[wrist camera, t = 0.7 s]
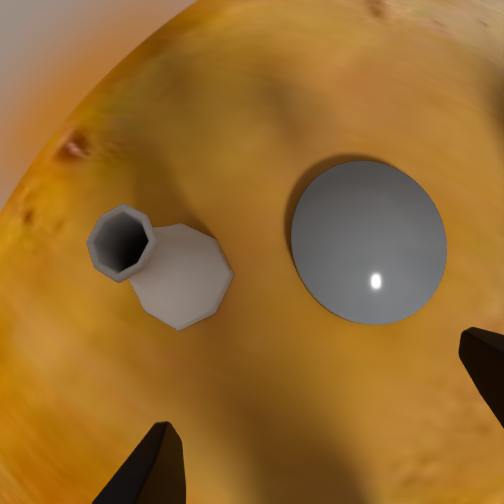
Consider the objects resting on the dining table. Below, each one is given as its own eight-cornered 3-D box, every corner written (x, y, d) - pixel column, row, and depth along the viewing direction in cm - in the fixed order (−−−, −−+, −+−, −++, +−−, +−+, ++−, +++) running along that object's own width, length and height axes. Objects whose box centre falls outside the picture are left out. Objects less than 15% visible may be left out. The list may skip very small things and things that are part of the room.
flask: (116, 276, 22) (32, 244, 13) (183, 207, 23) (133, 135, 13) (179, 348, 21) (114, 366, 11) (253, 275, 22) (241, 237, 12)
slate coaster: (433, 333, 20) (439, 333, 19) (276, 310, 21) (276, 309, 20) (440, 185, 23) (446, 181, 22) (302, 153, 24) (304, 146, 23)
